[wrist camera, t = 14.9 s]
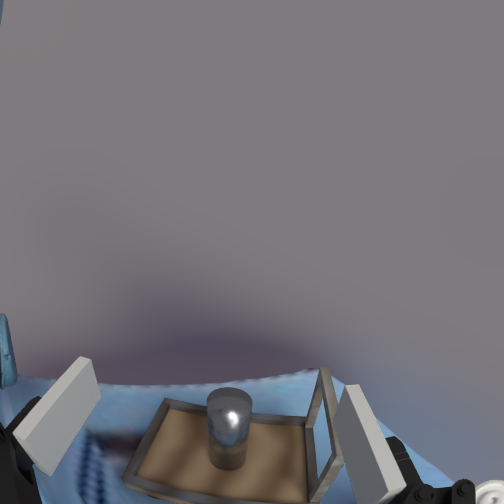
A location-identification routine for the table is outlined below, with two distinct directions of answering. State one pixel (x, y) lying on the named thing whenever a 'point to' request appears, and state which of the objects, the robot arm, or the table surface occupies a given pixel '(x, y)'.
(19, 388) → the table surface
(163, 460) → the caster cart
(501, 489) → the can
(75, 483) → the table surface
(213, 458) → the steel cylinder
